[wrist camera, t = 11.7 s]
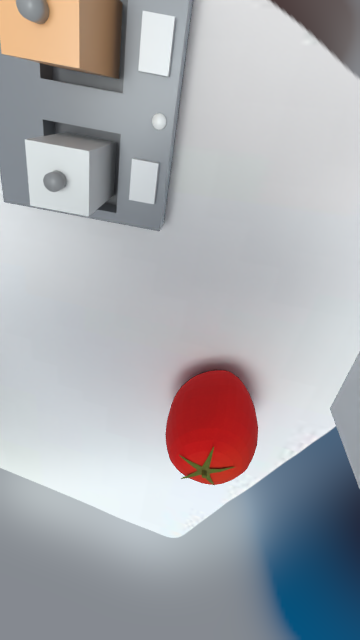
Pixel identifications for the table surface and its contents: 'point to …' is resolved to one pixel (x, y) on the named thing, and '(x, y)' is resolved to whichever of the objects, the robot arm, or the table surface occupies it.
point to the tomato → (212, 428)
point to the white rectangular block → (70, 172)
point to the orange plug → (64, 33)
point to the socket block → (106, 111)
